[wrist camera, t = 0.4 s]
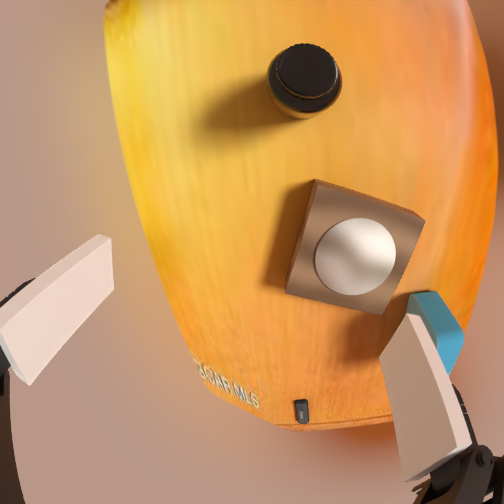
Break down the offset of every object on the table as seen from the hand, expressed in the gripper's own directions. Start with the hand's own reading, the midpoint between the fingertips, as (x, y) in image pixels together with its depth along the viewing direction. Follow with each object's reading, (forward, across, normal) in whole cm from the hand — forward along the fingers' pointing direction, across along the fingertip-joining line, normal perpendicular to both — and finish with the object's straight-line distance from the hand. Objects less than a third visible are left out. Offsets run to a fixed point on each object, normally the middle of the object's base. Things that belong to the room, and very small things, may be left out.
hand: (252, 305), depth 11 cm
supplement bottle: (+25, 0, +12) cm, 27 cm away
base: (+24, +11, -5) cm, 27 cm away
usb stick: (+25, +17, -43) cm, 52 cm away
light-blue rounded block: (+24, +27, -14) cm, 39 cm away
